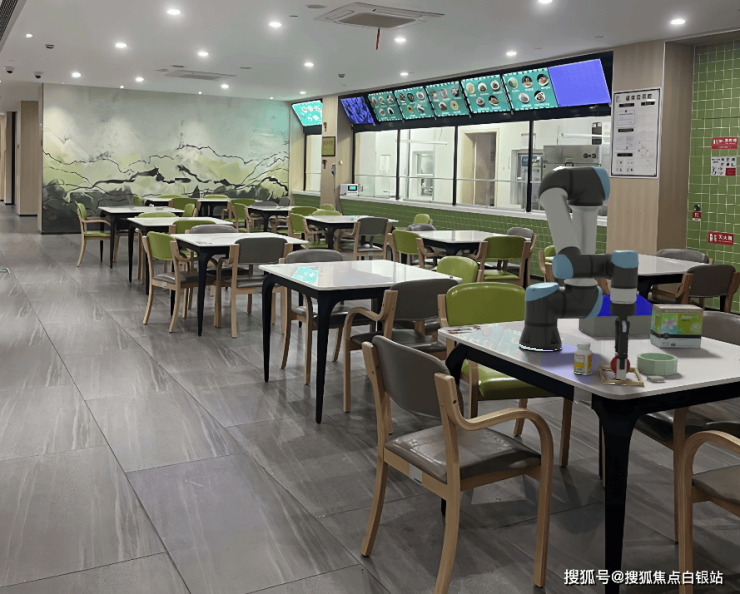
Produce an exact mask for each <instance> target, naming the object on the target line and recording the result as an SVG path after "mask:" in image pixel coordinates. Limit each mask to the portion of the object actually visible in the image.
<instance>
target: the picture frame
mask: <svg viewBox="0 0 740 594" xmlns="http://www.w3.org/2000/svg"><path fill="white" fill-rule="evenodd" d="M602 369H611V367H610V365H597V371H598V370H599V371H598V374H600V375H599V378H600V377H601V379H600V381H601V380H602V382H601V384H602V383H615V384H626V385H625V386H630V385H640V386H639V387H644V386H645V382H644V380H643V377H642V376H641V374H640V373H641V372H639V371H638V369H637V366H630V371H629V372H635V373H634V375H635V374H636V375H635V377H636V376H637V377H636V379H637V378H638V379H637V380H616V379H605V375H604V372H603V370H602Z"/></svg>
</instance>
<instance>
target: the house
mask: <svg viewBox="0 0 740 594" xmlns="http://www.w3.org/2000/svg"><path fill="white" fill-rule="evenodd" d="M602 296H603V302H602V307H601V310H600V312H599V314H598V315H597V316H596V317H594V318H588V319H578V329H579V328H580V329H582V330H583V331H582V330H581V331H582V332H584V331H585V332H584V333H586V332H587V333H589V334H590V335H589V334H588V335H589V336H591V335H592V336H591V337H615V320H616V318H618V316H615V315H611V314H610V303H611V302H612V301H611V300H610V293H609V294H604V295H602ZM636 296H637V298H636V301H635V302H634V303H636V315H634V316H628V317H627V319H628V320H629V322H630V327H629V335H631V336H650V334H651V320H652V308H653V304H652V302H650V301H649V300H647V299H646V298H645V297H643V296H642V295H640V293H639V294H636ZM580 329H579V330H580ZM587 333H586V334H587Z"/></svg>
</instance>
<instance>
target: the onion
mask: <svg viewBox="0 0 740 594" xmlns="http://www.w3.org/2000/svg"><path fill="white" fill-rule="evenodd" d="M616 356H618V355H616ZM616 356H615V355H614V356H613V357H612V359H611V360H610V364H609V366H610V367H611V370H610V371H612V373H613V374H614V373H615V374H614V375H616V374H617V359H616V358H615V357H616ZM630 367H631V362H630V360H629V357H628V358H627V369H626V375H627V374H628V373H629V372H630V371H629V370H630Z"/></svg>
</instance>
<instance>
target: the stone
mask: <svg viewBox="0 0 740 594" xmlns="http://www.w3.org/2000/svg"><path fill="white" fill-rule="evenodd" d="M646 380H647V381H648V380H649V381H648V382H650V381H651V382H650V383H658V382H657V381H665V380H666V378H665V377H664V376H662V375H647V376H646ZM665 382H666V381H665Z"/></svg>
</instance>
